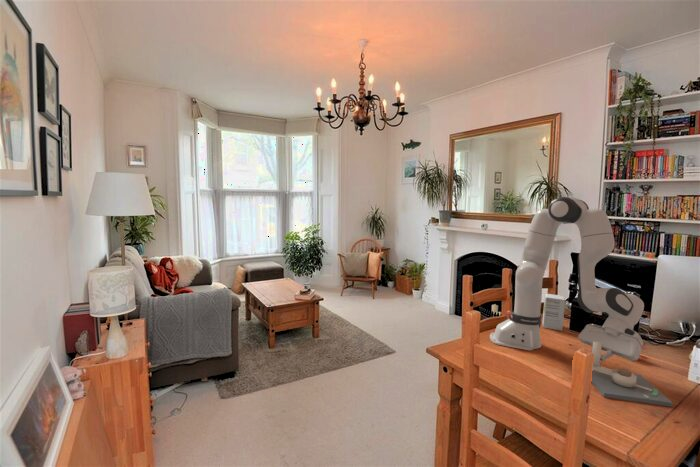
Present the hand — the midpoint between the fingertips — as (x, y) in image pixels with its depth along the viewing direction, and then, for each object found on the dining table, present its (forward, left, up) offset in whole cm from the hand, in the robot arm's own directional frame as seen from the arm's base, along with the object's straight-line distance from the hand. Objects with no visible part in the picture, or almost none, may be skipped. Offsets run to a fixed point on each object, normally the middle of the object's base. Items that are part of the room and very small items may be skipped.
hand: (598, 359), depth 138 cm
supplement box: (0, +58, -7) cm, 59 cm away
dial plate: (+6, -6, -7) cm, 11 cm away
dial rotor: (+5, -5, -5) cm, 9 cm away
